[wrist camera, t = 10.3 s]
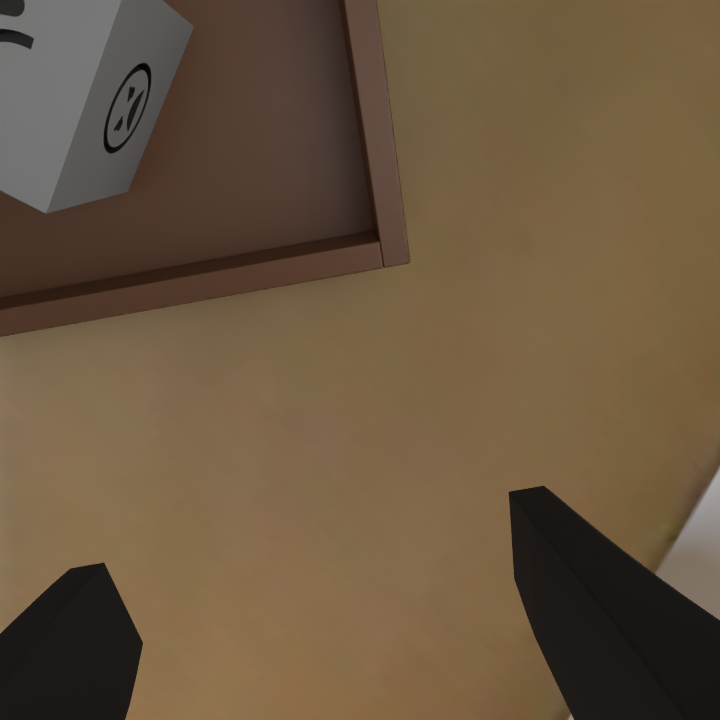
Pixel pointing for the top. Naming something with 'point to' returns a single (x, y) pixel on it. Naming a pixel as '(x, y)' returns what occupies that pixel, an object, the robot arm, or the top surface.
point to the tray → (230, 175)
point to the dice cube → (81, 94)
